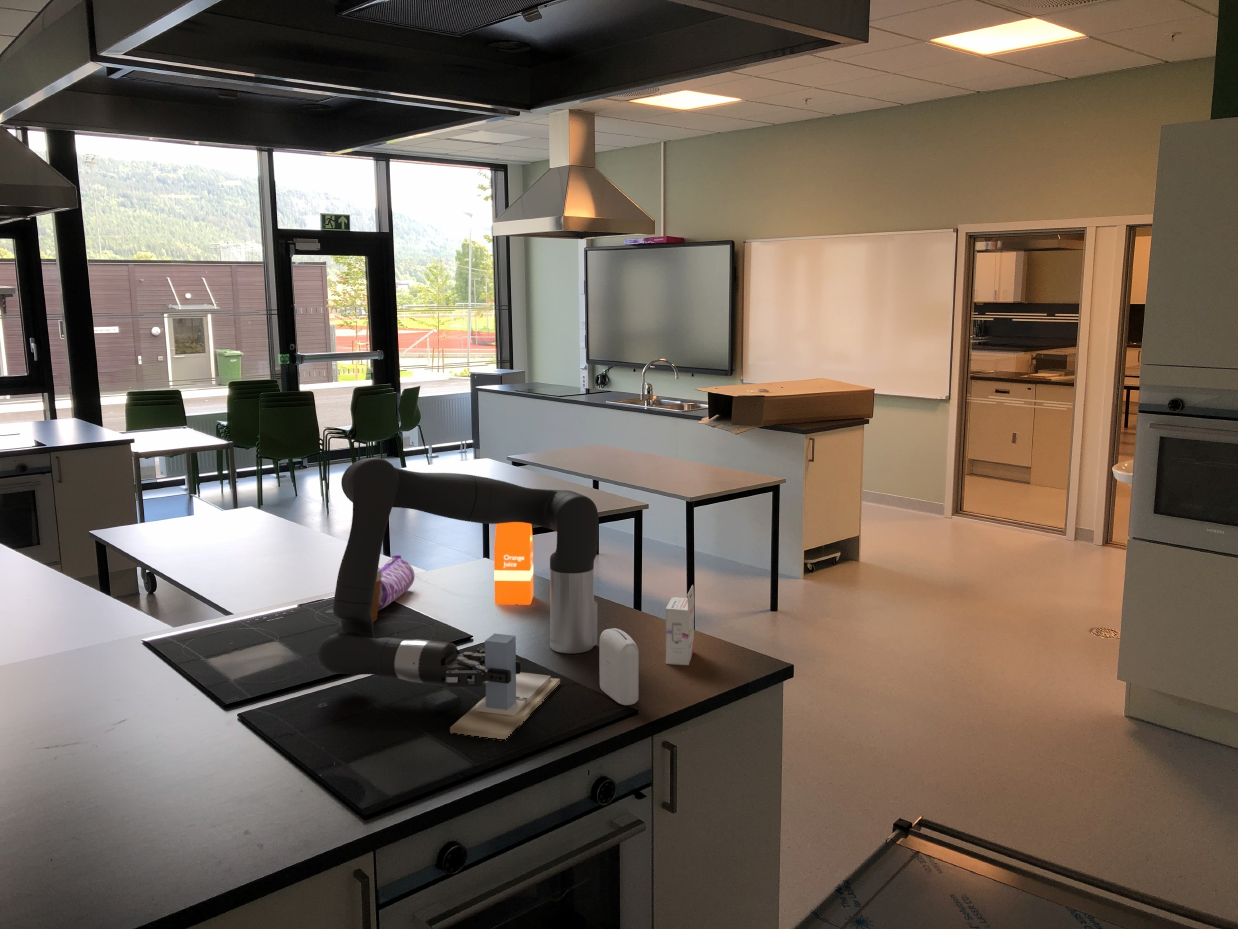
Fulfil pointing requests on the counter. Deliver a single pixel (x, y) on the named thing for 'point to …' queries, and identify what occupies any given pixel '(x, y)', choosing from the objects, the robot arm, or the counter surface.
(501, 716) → the perforated strip board
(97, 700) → the counter surface
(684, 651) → the ink cartridge box
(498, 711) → the panel
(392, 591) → the pencil case
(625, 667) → the photo printer
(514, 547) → the orange juice
